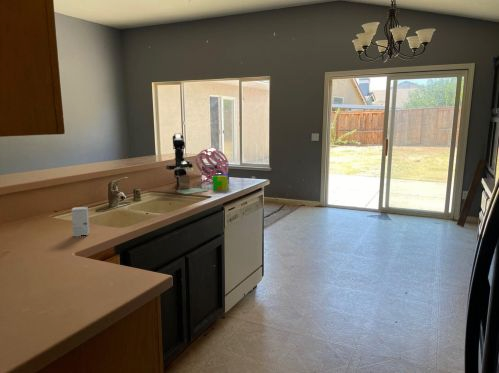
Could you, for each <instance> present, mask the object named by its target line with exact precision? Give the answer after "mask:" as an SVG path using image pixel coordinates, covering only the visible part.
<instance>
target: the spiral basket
mask: <svg viewBox="0 0 499 373" xmlns="http://www.w3.org/2000/svg"><path fill="white" fill-rule="evenodd" d="M209 152H210V153H209ZM203 156H204V157H205V160H206V162H208V164H209V165H211V167H213V169H211V168H210V167H209V166H208V165H207V164H206V162H205V161H204V159H203ZM216 156H217V157H216ZM198 158H199V162H200V163H201V165H202V167H203V168H204V169H205V170H206V171H207V172H209V174H208V173H206V172H205V171H204V170H203V169H202V167H201V166H200V164H199V163H198ZM212 160H213V161H214V162H215V163H216V164H215V163H214V162H213V161H212ZM194 163H195V165H196V167H197V169H198V171H199V172H200V173H201V174H202V175H204V176H205V177H206V178H205V179H202V178H201V179H200V181H201V182H203V183H205V182H207V183H209V184H213V176H214V175H215V174H220V173H218V172H217V171H222V174H229V173H228V172H229V165H230V164H229V160H228V158H227V156H226V155H225V154H224V153H223V152H222V151H220V150H218V149H216V148H208V149H203V150H201V151H200V152H199V153H198V154H196V155H195V158H194ZM224 165H225V167H224ZM210 180H211V181H210Z"/></svg>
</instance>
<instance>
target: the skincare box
mask: <svg viewBox="0 0 499 373" xmlns="http://www.w3.org/2000/svg"><path fill="white" fill-rule="evenodd" d="M71 223H72V233H73V234H72V235H73V237H74V236H75V237H82V236H81V235H88V233H89V232H91V231H90V218H89V207H88V206H80V207H79V206H78V207H72V209H71ZM89 234H90V233H89ZM88 236H89V235H88Z"/></svg>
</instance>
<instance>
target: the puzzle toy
mask: <svg viewBox="0 0 499 373" xmlns="http://www.w3.org/2000/svg"><path fill="white" fill-rule="evenodd" d="M212 177H213V180H212V182H213V183H212V191H228V190H229V189H230V174H229V173H227V174H223V173H219V174H215V175H213V176H212Z"/></svg>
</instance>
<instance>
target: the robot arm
mask: <svg viewBox="0 0 499 373" xmlns="http://www.w3.org/2000/svg"><path fill="white" fill-rule="evenodd" d="M172 146H173V147H172V148H173V150H174V157H175V158H174V160H175V163H174V164H167V165H166V166H165V169H166V170H169V171H171V170H173V174H174V176H173V177H174V179H176V181H175V182H176V183H175V184H174V186H178V187H179V177H178V176H184V175H187V171H186V169H187V168H189V169H191V168H193V167H194V165H193V163H190V160H185V158H184V149H185V148H186V143H185V141H184V136H183V135H182V133H181V132H175V133H174V135H173V136H172Z"/></svg>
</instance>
